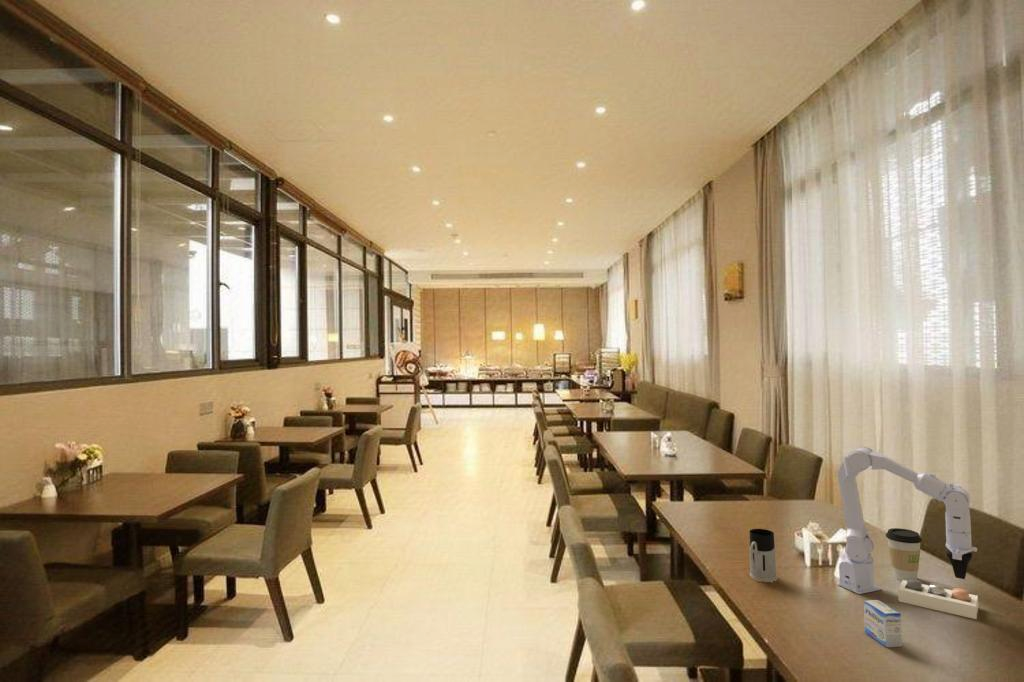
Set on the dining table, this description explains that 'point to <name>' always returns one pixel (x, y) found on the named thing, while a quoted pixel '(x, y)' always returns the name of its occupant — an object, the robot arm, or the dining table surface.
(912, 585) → the grey stone
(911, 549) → the coffee cup
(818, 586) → the dining table surface
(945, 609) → the cream rectangular tray
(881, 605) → the medicine box
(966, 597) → the tan rounded lump
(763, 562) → the glass holder
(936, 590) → the grey rock
